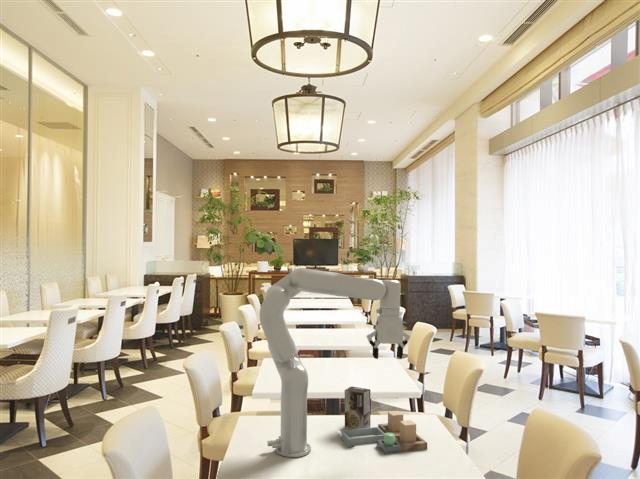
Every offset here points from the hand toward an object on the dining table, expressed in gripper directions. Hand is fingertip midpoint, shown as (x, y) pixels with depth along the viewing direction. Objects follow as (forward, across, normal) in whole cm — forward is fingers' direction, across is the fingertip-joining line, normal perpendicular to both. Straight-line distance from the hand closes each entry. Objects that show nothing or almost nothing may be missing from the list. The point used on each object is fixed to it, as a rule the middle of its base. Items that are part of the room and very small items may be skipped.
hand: (387, 357), depth 184 cm
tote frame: (+33, -6, +5) cm, 34 cm away
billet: (+31, +8, -4) cm, 32 cm away
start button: (+31, -1, -6) cm, 32 cm away
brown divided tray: (+32, +8, +1) cm, 33 cm away
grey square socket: (+32, -1, -6) cm, 33 cm away
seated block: (+31, +8, +7) cm, 33 cm away
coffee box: (+33, -4, +17) cm, 37 cm away
